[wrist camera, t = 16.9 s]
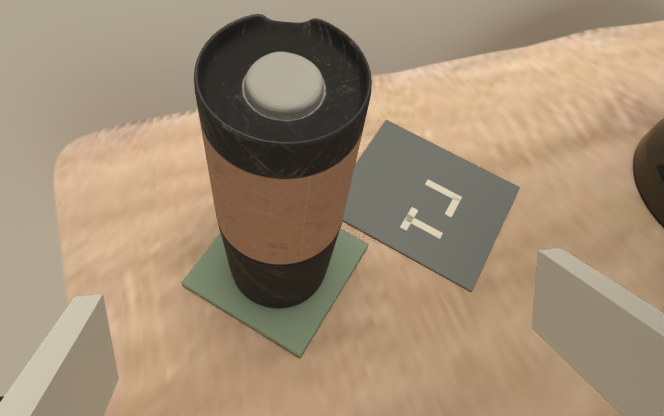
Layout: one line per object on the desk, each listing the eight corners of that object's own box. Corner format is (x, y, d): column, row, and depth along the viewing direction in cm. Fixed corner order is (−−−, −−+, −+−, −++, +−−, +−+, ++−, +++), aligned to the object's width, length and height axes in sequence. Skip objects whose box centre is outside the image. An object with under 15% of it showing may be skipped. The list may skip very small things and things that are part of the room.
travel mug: (275, 335, 37) (278, 182, 19) (205, 260, 39) (151, 63, 22) (351, 265, 40) (412, 80, 23) (282, 200, 42) (289, -15, 25)
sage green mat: (367, 247, 41) (368, 244, 41) (299, 357, 37) (300, 356, 36) (260, 187, 43) (259, 183, 43) (182, 285, 38) (181, 282, 38)
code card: (518, 188, 46) (520, 187, 45) (470, 292, 40) (471, 290, 40) (385, 121, 48) (386, 119, 48) (324, 210, 43) (324, 209, 42)
